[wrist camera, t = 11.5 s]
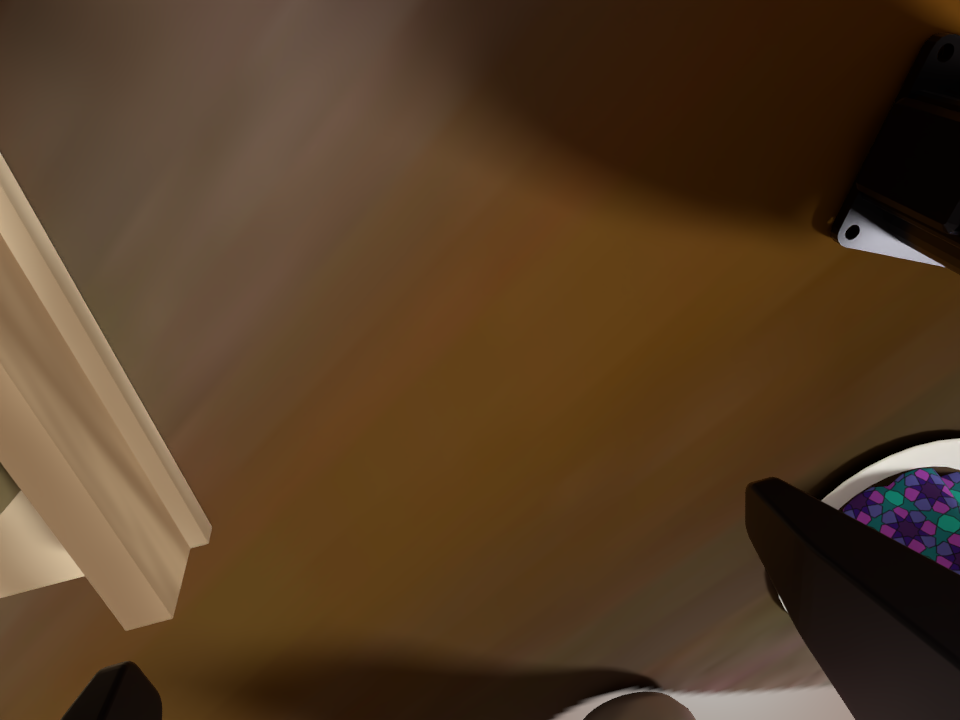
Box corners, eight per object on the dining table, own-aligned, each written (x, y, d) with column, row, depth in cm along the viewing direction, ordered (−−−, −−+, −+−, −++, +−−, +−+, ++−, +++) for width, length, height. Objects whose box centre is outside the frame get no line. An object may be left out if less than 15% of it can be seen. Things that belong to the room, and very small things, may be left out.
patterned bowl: (996, 577, 36) (1087, 668, 31) (771, 647, 36) (831, 748, 31) (1038, 392, 29) (1161, 474, 25) (764, 478, 29) (839, 575, 25)
